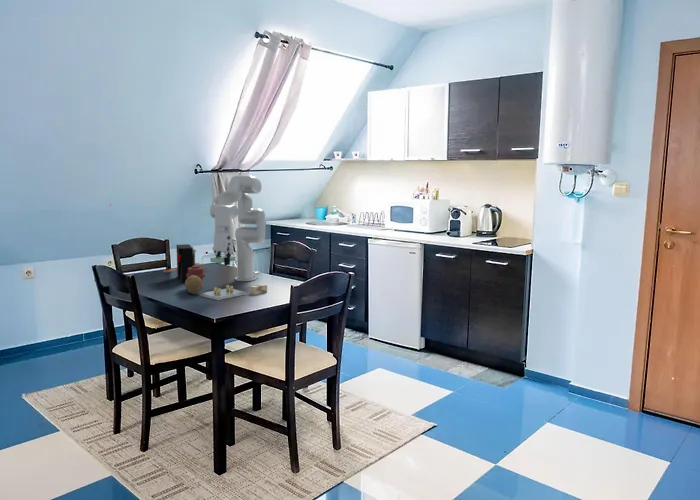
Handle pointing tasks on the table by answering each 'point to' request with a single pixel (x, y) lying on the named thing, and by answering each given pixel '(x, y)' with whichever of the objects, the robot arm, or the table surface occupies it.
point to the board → (220, 259)
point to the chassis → (223, 293)
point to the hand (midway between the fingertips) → (222, 263)
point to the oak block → (258, 289)
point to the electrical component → (184, 260)
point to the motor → (195, 265)
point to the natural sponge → (193, 284)
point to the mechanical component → (196, 272)
